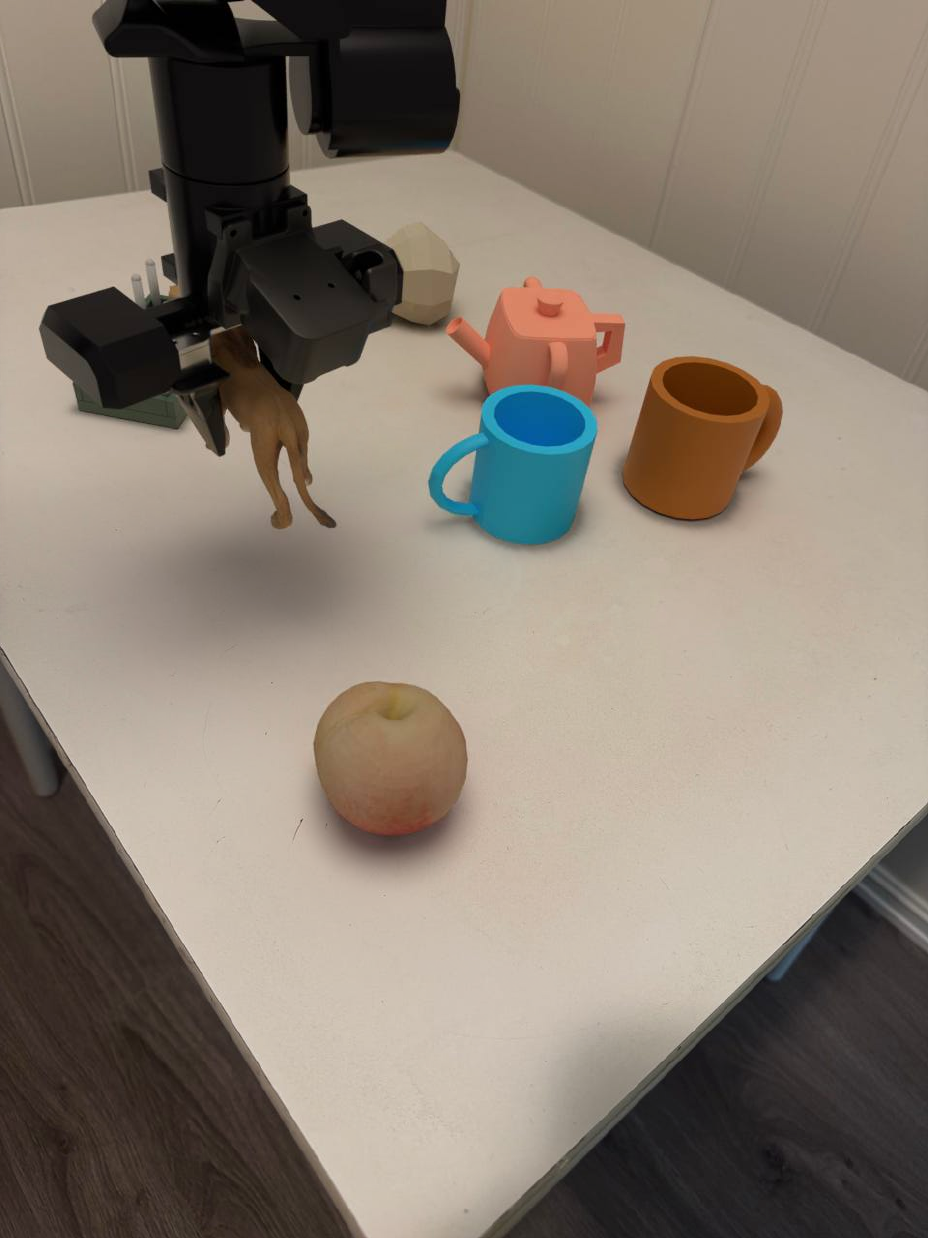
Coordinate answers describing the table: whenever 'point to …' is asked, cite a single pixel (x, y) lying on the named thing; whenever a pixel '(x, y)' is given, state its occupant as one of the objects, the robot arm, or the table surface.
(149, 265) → the drying rack
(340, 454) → the table surface
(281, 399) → the lion figurine
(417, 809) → the fruit
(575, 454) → the mug
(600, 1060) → the table surface
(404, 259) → the faceted club
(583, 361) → the teapot
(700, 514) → the mug
